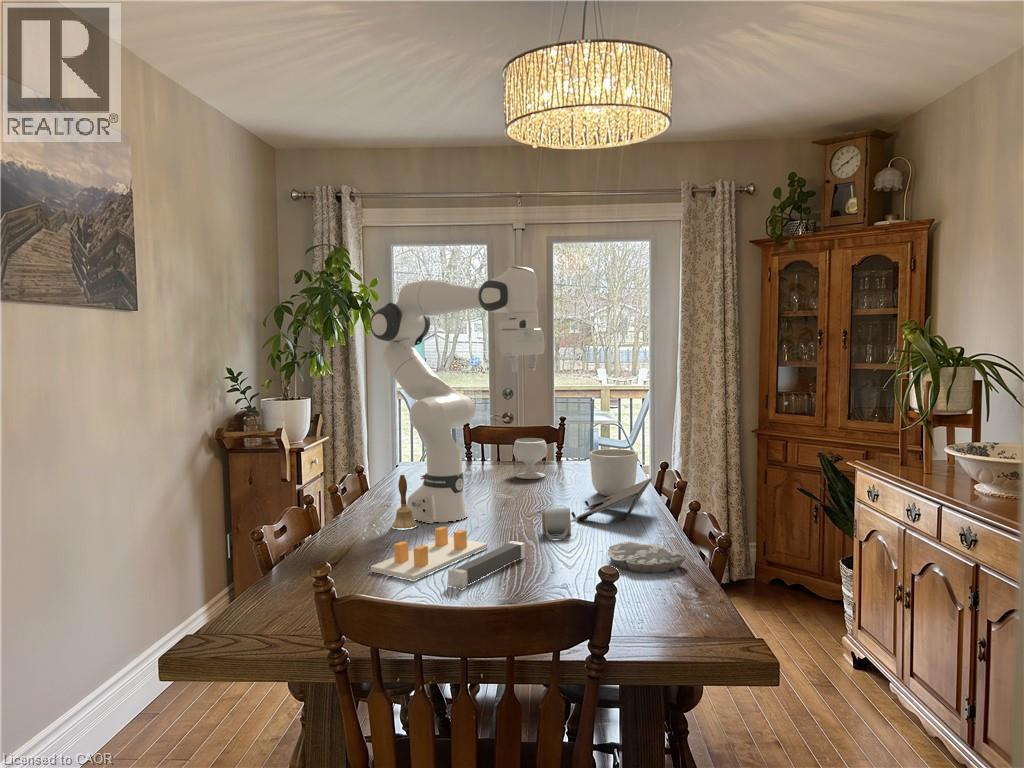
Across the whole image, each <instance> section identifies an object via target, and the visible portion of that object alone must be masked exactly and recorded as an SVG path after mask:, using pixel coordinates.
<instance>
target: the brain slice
mask: <svg viewBox="0 0 1024 768" xmlns="http://www.w3.org/2000/svg"><path fill="white" fill-rule="evenodd" d="M607 555H608V557H609V558H610V560H611V561H612V562H613V563H615V564H616V565H618V567H619V568H622V569H624V570H630V571H631V572H632V573H633V572H634V573H644V574H647V573H652V574H657V573H666V572H668V571H670V570H671V571H672V570H676V569H677V568H678V567H680V566H681V565H682V564H683V563H684V562H685V561H686V556H685V555H684V554H683V553H678V552H674V551H672V550H671V549H669V548H667V547H666V546H661V545H657V544H650V543H640V542H635V541H624V542H619V543H616V544H613V545H610V546H608V549H607Z"/></svg>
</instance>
